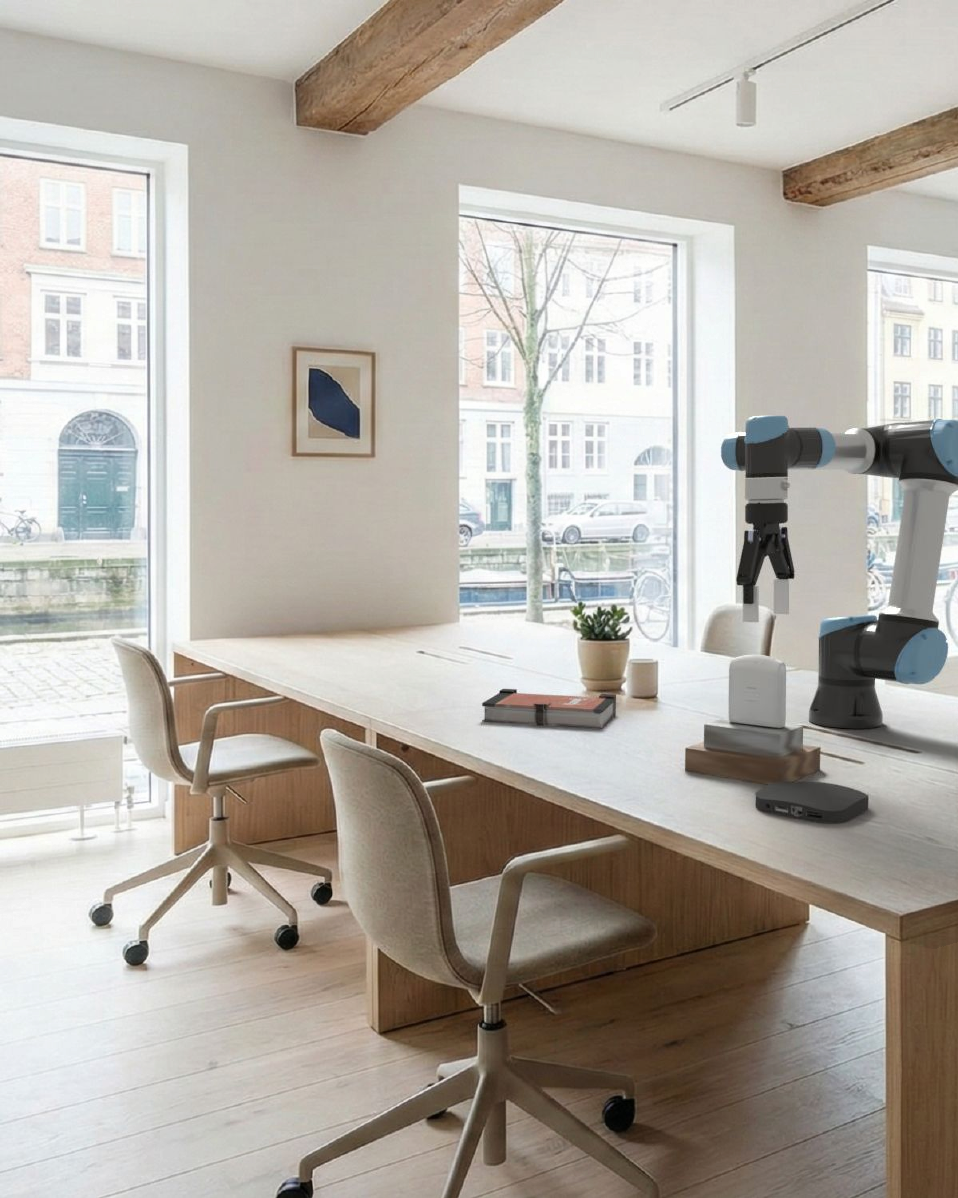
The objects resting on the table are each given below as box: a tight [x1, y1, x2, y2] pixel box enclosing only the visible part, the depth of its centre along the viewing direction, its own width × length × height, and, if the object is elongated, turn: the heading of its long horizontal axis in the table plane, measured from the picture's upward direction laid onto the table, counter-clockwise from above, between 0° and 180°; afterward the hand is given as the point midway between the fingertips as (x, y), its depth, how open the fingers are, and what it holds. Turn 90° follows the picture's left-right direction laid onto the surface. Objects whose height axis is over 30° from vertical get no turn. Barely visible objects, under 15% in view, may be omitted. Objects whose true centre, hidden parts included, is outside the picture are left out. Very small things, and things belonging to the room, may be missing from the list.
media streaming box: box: [754, 780, 870, 824], centre depth 171 cm, size 15×15×3 cm
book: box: [481, 688, 617, 730], centre depth 243 cm, size 26×18×5 cm
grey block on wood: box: [684, 716, 822, 785], centre depth 196 cm, size 16×18×8 cm
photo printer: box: [728, 654, 787, 728], centre depth 195 cm, size 10×4×12 cm, turn 50°
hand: (766, 618), depth 204 cm, fingers open, 13 cm apart
